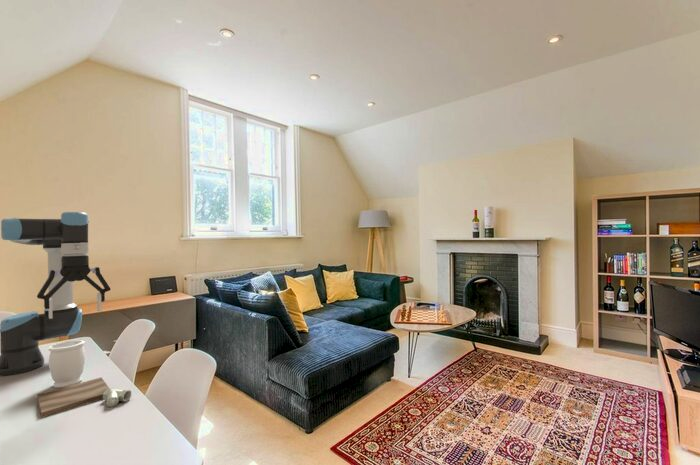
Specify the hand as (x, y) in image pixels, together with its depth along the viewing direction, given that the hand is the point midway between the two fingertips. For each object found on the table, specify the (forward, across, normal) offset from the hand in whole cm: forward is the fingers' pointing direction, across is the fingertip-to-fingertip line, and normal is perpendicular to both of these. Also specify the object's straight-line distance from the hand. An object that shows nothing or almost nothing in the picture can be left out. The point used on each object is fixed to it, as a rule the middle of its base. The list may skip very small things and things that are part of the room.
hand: (76, 314), depth 119 cm
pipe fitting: (+28, +7, -19) cm, 35 cm away
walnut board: (+28, -1, -4) cm, 28 cm away
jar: (+28, -1, +13) cm, 31 cm away
